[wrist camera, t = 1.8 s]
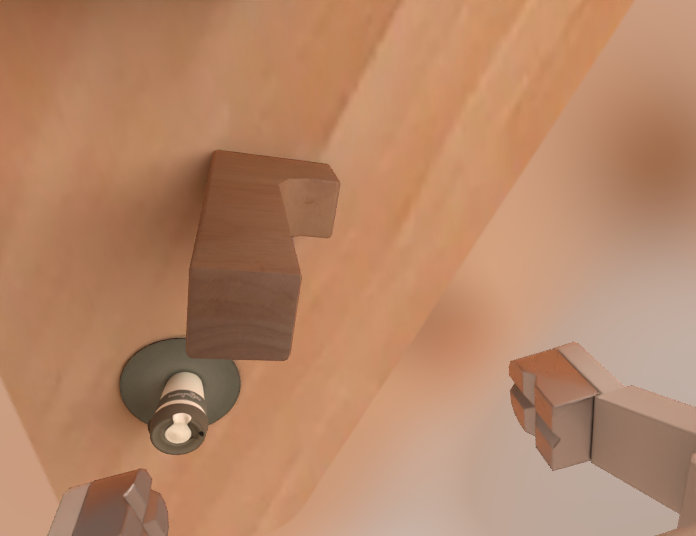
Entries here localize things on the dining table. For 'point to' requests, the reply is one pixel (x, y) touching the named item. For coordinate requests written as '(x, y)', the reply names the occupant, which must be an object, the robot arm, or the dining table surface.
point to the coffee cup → (178, 394)
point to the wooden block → (253, 253)
